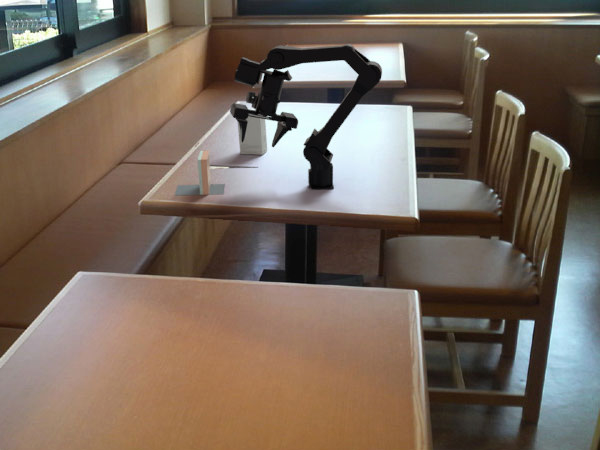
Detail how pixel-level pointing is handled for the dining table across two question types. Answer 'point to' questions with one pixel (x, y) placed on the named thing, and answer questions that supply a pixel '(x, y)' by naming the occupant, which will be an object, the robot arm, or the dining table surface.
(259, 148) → the skincare box
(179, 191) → the mat
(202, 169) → the tile
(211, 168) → the chocolate bar
